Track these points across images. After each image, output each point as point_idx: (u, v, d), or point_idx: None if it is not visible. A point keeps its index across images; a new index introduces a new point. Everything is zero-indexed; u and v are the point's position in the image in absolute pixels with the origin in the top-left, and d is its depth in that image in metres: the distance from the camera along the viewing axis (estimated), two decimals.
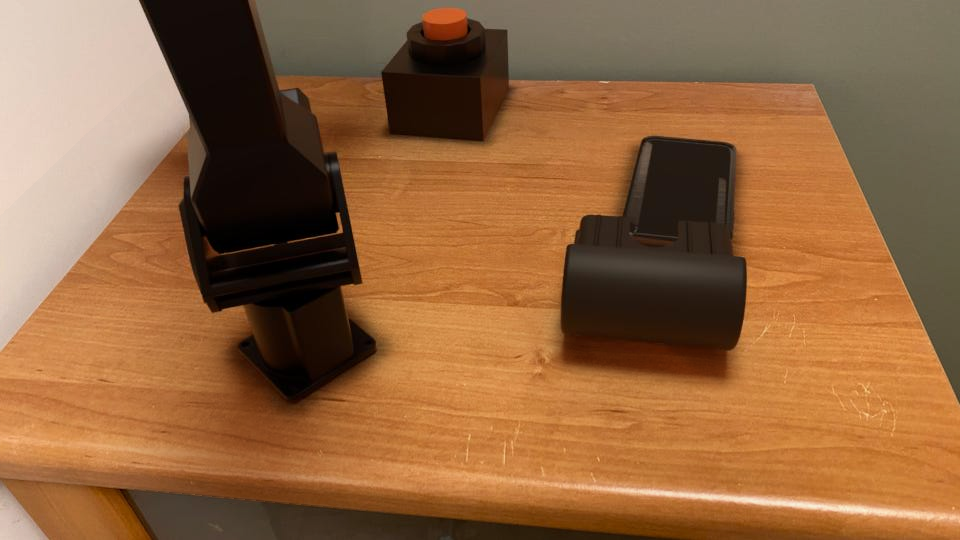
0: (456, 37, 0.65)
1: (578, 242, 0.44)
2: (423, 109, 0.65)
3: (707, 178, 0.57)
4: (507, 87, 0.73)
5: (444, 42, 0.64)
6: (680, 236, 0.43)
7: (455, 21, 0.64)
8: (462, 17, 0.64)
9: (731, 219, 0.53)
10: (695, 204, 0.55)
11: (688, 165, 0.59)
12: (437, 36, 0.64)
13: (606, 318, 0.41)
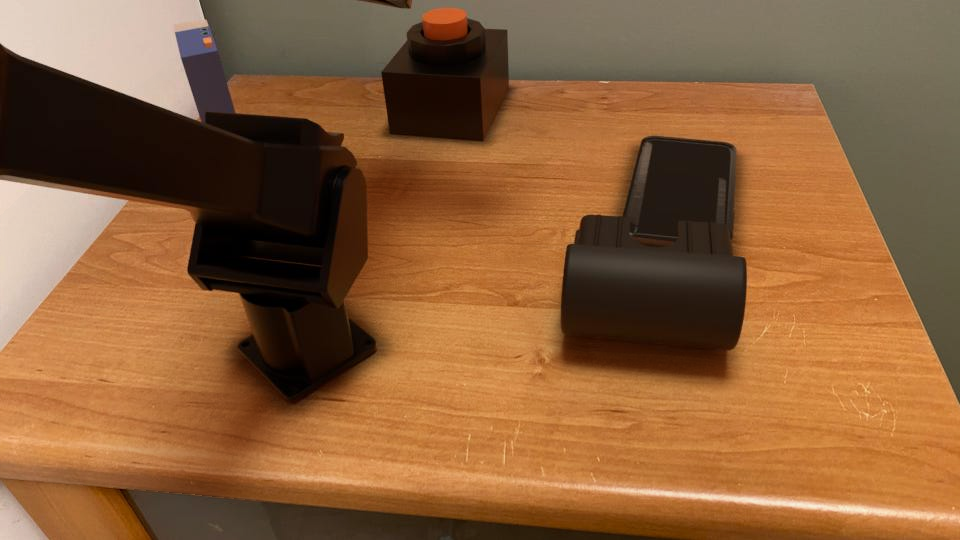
0: (456, 37, 0.65)
1: (578, 242, 0.44)
2: (423, 109, 0.65)
3: (707, 178, 0.57)
4: (507, 87, 0.73)
5: (444, 42, 0.64)
6: (680, 236, 0.43)
7: (455, 21, 0.64)
8: (462, 17, 0.64)
9: (731, 219, 0.53)
10: (695, 204, 0.55)
11: (688, 165, 0.59)
12: (437, 36, 0.64)
13: (606, 318, 0.41)
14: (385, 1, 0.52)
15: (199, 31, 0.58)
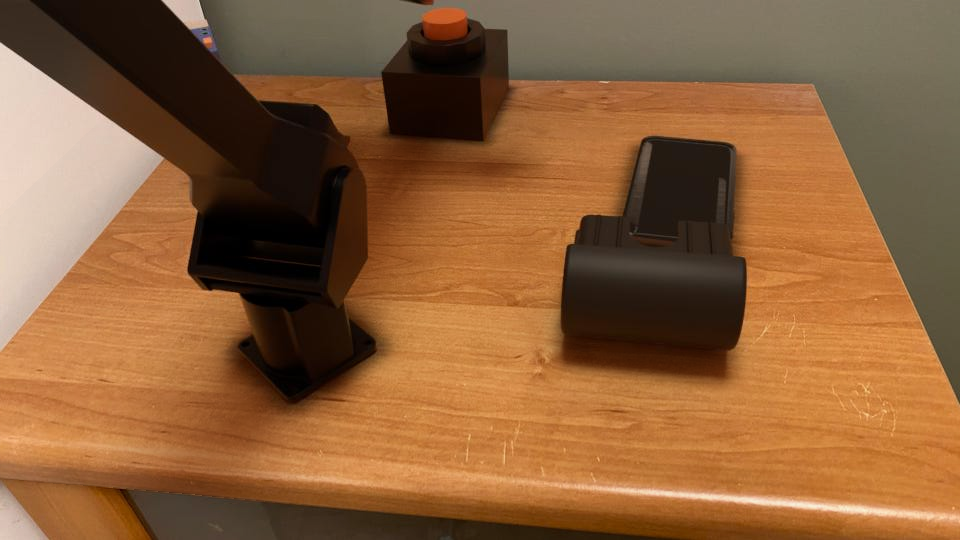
0: (456, 37, 0.65)
1: (578, 242, 0.44)
2: (423, 109, 0.65)
3: (707, 178, 0.57)
4: (507, 87, 0.73)
5: (444, 42, 0.64)
6: (680, 236, 0.43)
7: (455, 21, 0.64)
8: (462, 17, 0.64)
9: (731, 219, 0.53)
10: (695, 204, 0.55)
11: (688, 165, 0.59)
12: (437, 36, 0.64)
13: (606, 318, 0.41)
14: None
15: (199, 31, 0.58)
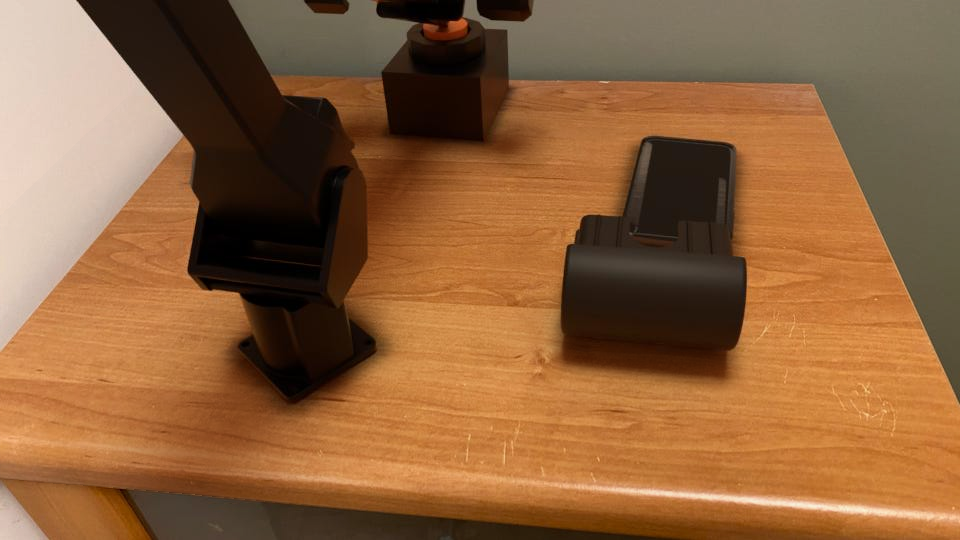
0: None
1: (578, 242, 0.44)
2: (423, 109, 0.65)
3: (707, 178, 0.57)
4: (507, 87, 0.73)
5: (444, 42, 0.64)
6: (680, 236, 0.43)
7: (455, 30, 0.64)
8: (463, 26, 0.65)
9: (731, 219, 0.53)
10: (695, 204, 0.55)
11: (688, 165, 0.59)
12: None
13: (606, 318, 0.41)
14: (428, 21, 0.62)
15: None
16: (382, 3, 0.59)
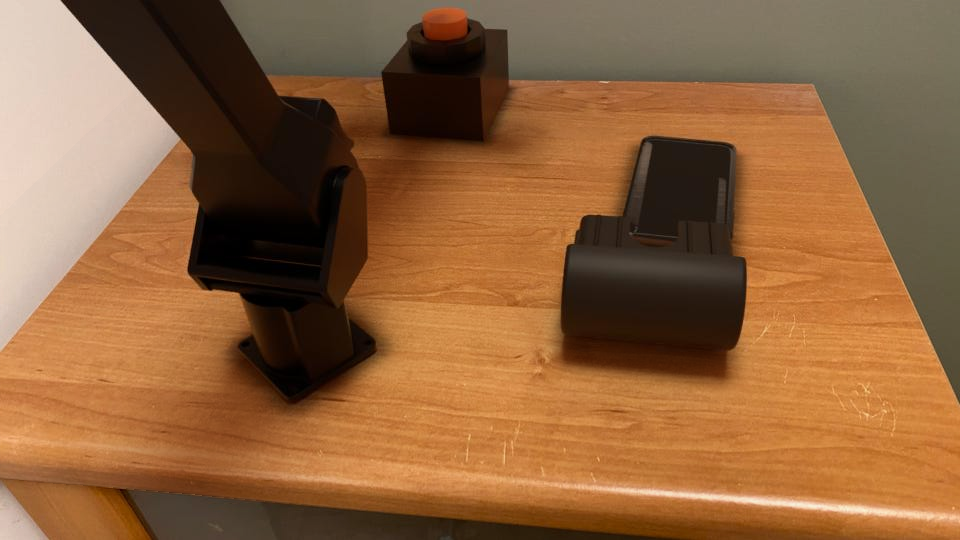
0: (456, 37, 0.65)
1: (578, 242, 0.44)
2: (423, 109, 0.65)
3: (707, 178, 0.57)
4: (507, 87, 0.73)
5: (444, 42, 0.64)
6: (680, 236, 0.43)
7: (455, 21, 0.64)
8: (462, 17, 0.64)
9: (731, 219, 0.53)
10: (695, 204, 0.55)
11: (688, 165, 0.59)
12: (437, 36, 0.64)
13: (606, 318, 0.41)
14: None
15: None
16: None
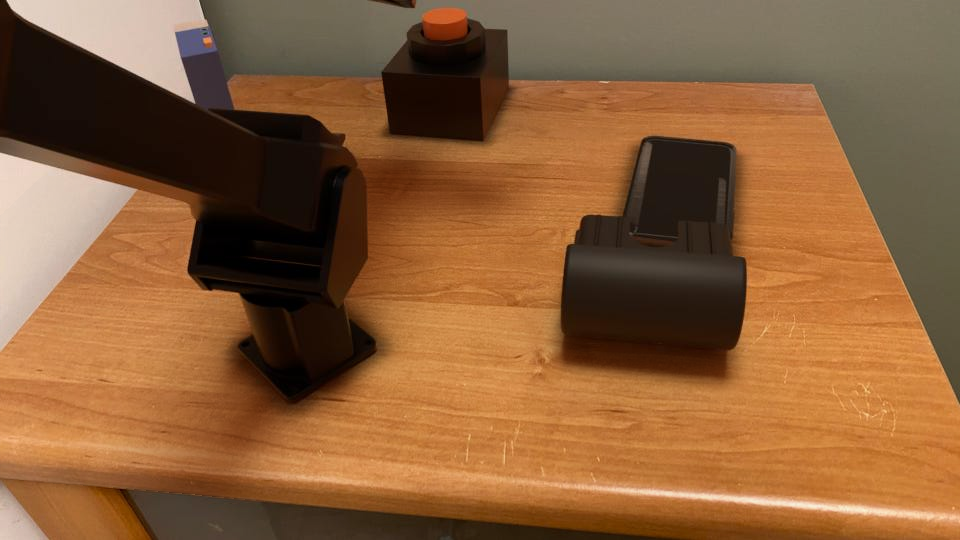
0: (456, 37, 0.65)
1: (578, 242, 0.44)
2: (423, 109, 0.65)
3: (707, 178, 0.57)
4: (507, 87, 0.73)
5: (444, 42, 0.64)
6: (680, 236, 0.43)
7: (455, 21, 0.64)
8: (462, 17, 0.64)
9: (731, 219, 0.53)
10: (695, 204, 0.55)
11: (688, 165, 0.59)
12: (437, 36, 0.64)
13: (606, 318, 0.41)
14: (390, 0, 0.53)
15: (199, 31, 0.58)
16: None
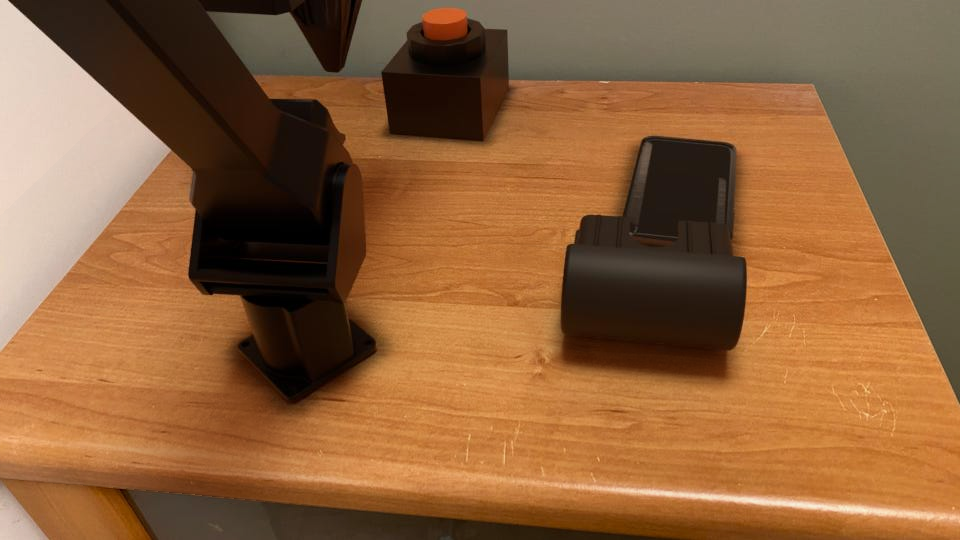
0: (456, 37, 0.65)
1: (578, 242, 0.44)
2: (423, 109, 0.65)
3: (707, 178, 0.57)
4: (507, 87, 0.73)
5: (444, 42, 0.64)
6: (680, 236, 0.43)
7: (455, 21, 0.64)
8: (462, 17, 0.64)
9: (731, 219, 0.53)
10: (695, 204, 0.55)
11: (688, 165, 0.59)
12: (437, 36, 0.64)
13: (606, 318, 0.41)
14: None
15: None
16: None
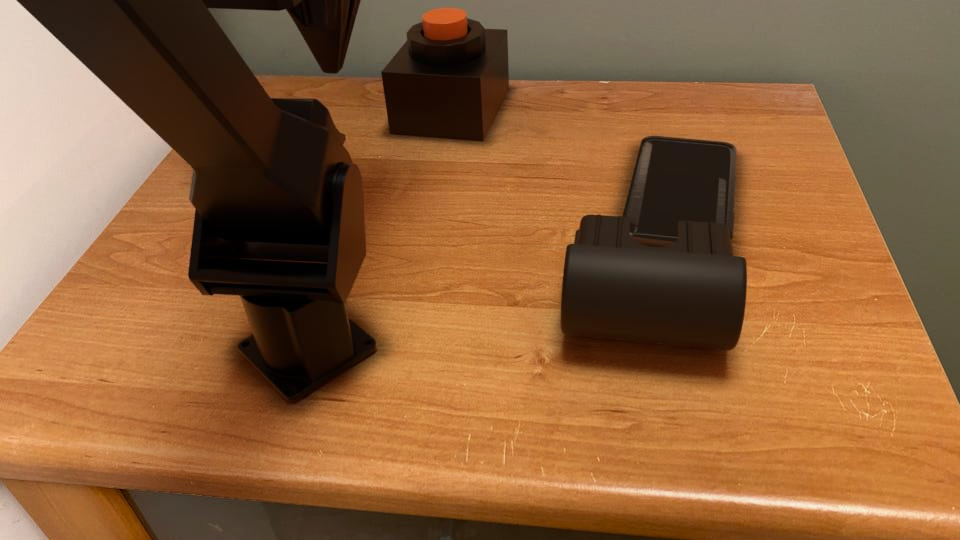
0: (456, 37, 0.65)
1: (578, 242, 0.44)
2: (423, 109, 0.65)
3: (707, 178, 0.57)
4: (507, 87, 0.73)
5: (444, 42, 0.64)
6: (680, 236, 0.43)
7: (455, 21, 0.64)
8: (462, 17, 0.64)
9: (731, 219, 0.53)
10: (695, 204, 0.55)
11: (688, 165, 0.59)
12: (437, 36, 0.64)
13: (606, 318, 0.41)
14: None
15: None
16: None
